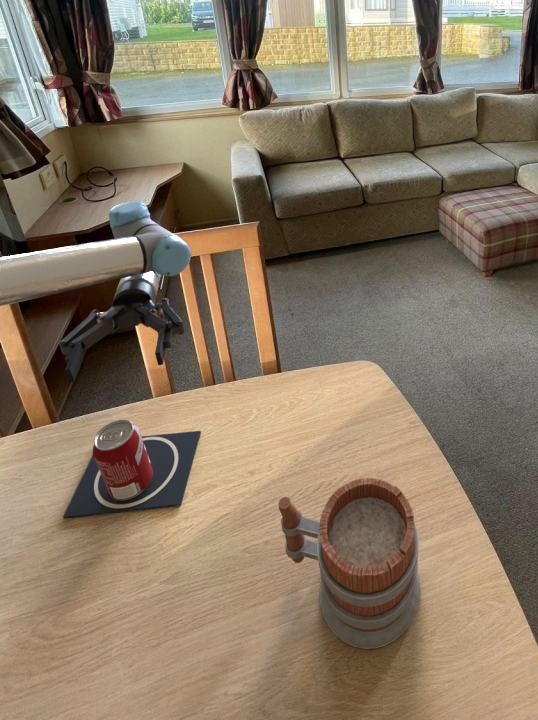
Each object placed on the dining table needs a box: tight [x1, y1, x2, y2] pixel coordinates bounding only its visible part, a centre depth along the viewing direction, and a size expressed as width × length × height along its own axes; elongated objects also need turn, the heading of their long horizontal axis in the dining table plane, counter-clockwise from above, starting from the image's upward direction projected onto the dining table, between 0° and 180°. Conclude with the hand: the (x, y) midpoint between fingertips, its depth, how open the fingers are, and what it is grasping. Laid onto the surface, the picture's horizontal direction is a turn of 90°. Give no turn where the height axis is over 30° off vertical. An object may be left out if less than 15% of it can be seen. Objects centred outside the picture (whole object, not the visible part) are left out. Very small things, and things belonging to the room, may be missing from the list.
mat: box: [62, 430, 202, 520], centre depth 83 cm, size 18×14×1 cm
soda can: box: [92, 418, 153, 500], centre depth 78 cm, size 7×7×12 cm
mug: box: [277, 477, 422, 650], centre depth 65 cm, size 14×19×15 cm
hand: (115, 367), depth 81 cm, fingers open, 13 cm apart
